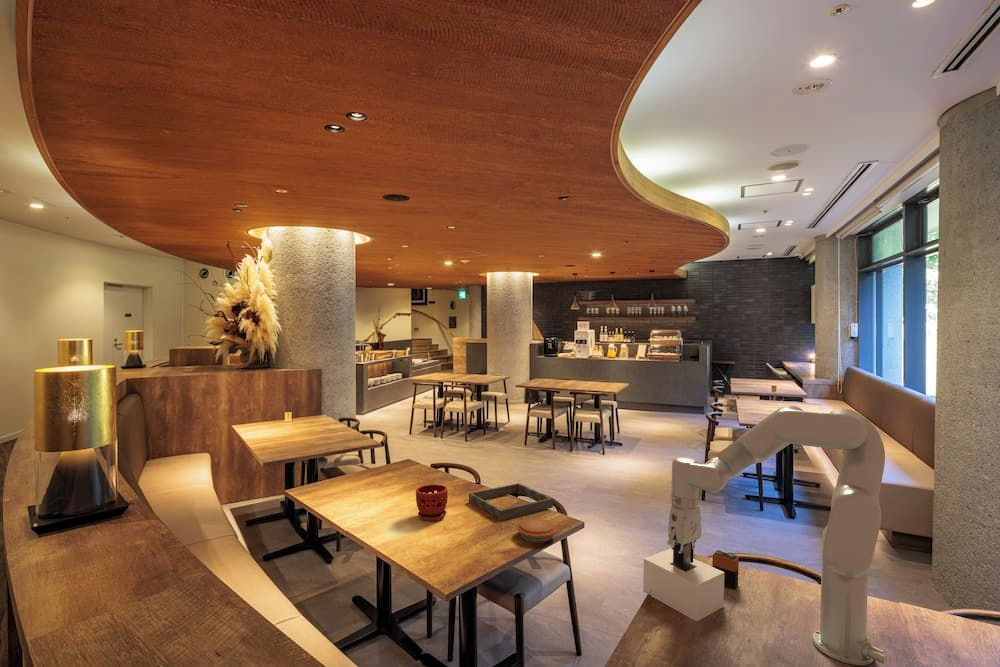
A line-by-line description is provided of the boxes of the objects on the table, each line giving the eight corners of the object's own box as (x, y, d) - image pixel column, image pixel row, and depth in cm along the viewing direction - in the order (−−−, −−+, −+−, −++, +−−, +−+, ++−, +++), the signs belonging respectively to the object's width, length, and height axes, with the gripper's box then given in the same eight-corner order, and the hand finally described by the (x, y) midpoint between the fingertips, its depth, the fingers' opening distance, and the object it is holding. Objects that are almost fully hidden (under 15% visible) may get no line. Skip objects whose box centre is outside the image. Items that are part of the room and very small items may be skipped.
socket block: (723, 606, 141) (724, 572, 141) (696, 621, 134) (697, 585, 134) (670, 579, 156) (670, 548, 156) (643, 591, 149) (643, 558, 148)
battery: (734, 590, 150) (735, 558, 150) (711, 583, 154) (712, 551, 154) (738, 584, 154) (739, 553, 154) (715, 577, 158) (716, 546, 158)
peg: (693, 569, 144) (693, 542, 144) (684, 573, 142) (685, 545, 142) (681, 564, 148) (681, 537, 147) (672, 567, 145) (673, 540, 145)
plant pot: (450, 512, 209) (450, 484, 209) (443, 524, 196) (444, 494, 196) (420, 510, 211) (420, 482, 211) (411, 522, 198) (412, 492, 197)
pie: (555, 547, 177) (555, 534, 177) (512, 543, 181) (512, 529, 180) (558, 530, 193) (558, 518, 192) (519, 526, 196) (519, 514, 196)
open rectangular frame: (552, 507, 217) (552, 498, 217) (500, 520, 201) (500, 511, 201) (518, 491, 237) (518, 483, 237) (468, 502, 221) (469, 493, 221)
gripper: (678, 510, 137) (676, 576, 137) (712, 499, 146) (711, 560, 146) (655, 502, 143) (654, 565, 143) (690, 492, 152) (688, 551, 153)
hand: (683, 562), depth 145 cm, fingers closed on peg, 3 cm apart
